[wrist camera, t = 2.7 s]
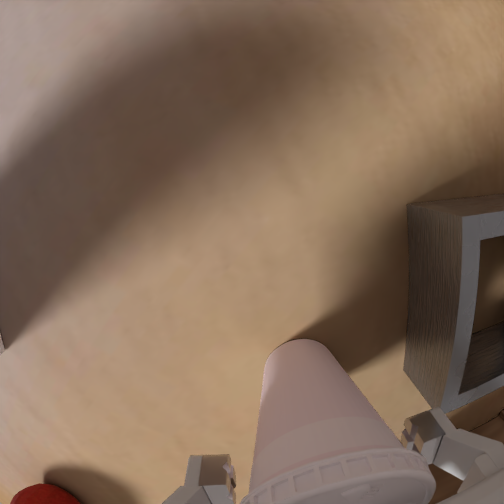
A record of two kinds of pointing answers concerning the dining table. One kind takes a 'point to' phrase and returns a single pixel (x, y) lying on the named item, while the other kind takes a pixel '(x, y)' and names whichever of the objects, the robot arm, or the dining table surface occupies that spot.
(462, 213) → the socket
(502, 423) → the green-topped frame
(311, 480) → the smoothie
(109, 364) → the dining table surface
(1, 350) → the milk
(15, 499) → the apple
